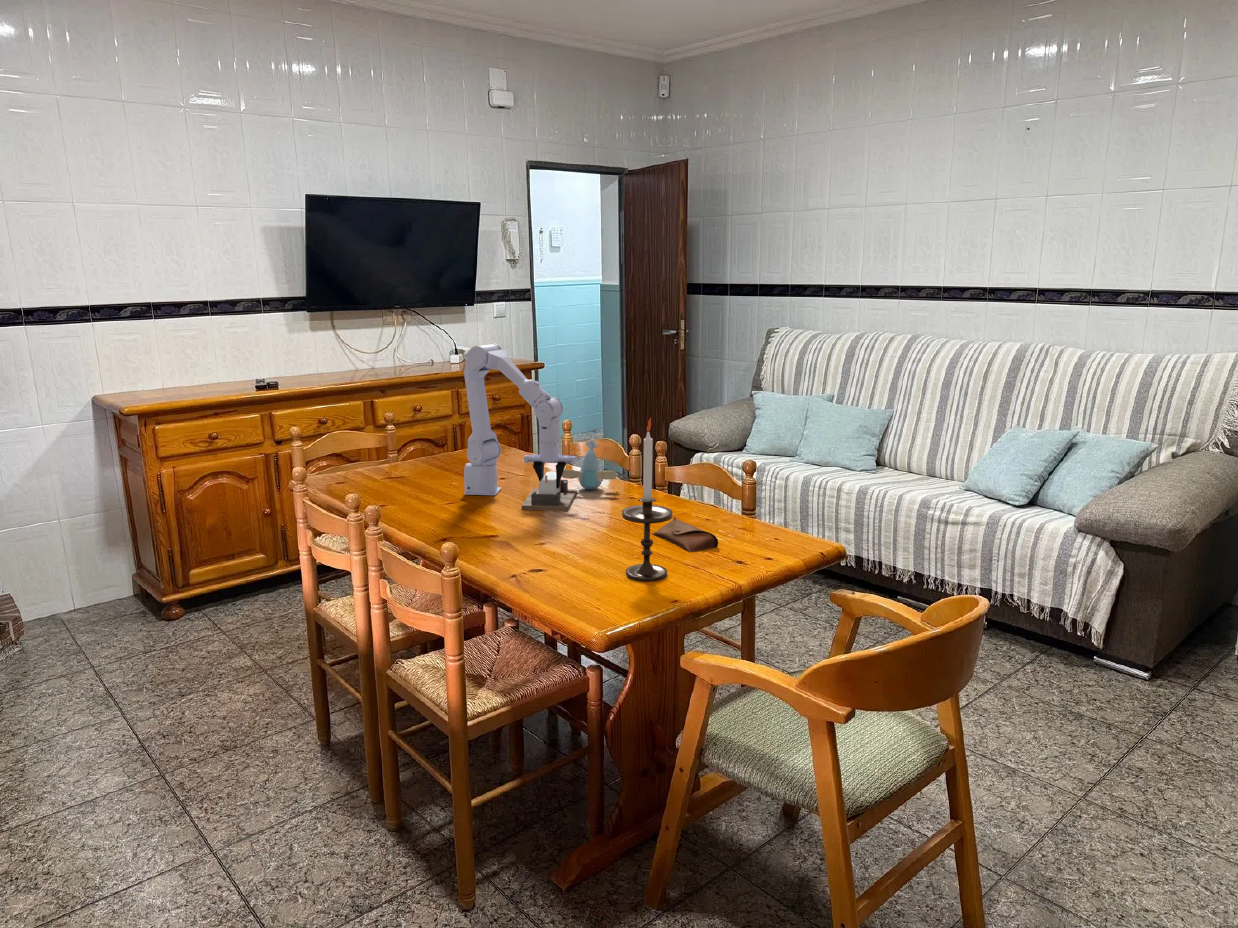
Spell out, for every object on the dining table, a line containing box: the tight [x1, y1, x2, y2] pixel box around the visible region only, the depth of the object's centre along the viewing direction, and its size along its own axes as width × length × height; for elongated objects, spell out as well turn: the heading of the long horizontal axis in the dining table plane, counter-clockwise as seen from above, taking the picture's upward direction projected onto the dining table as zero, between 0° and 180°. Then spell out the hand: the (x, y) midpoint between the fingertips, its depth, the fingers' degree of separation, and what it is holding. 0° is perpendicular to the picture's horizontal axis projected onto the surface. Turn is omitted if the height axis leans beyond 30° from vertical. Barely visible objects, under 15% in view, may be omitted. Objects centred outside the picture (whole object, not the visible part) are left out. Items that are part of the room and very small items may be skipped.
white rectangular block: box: [538, 471, 561, 495], centre depth 246 cm, size 14×4×8 cm, turn 175°
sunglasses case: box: [651, 516, 719, 553], centre depth 213 cm, size 18×7×7 cm
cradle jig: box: [521, 479, 578, 512], centre depth 247 cm, size 19×13×4 cm
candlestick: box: [621, 417, 673, 583], centre depth 185 cm, size 11×11×35 cm
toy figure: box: [561, 438, 619, 491], centre depth 260 cm, size 17×10×15 cm, turn 84°
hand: (550, 487), depth 247 cm, fingers closed on white rectangular block, 4 cm apart
